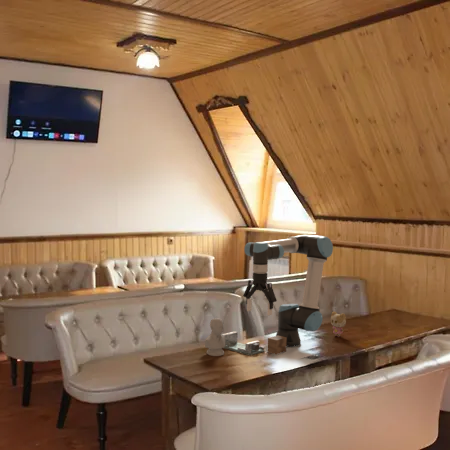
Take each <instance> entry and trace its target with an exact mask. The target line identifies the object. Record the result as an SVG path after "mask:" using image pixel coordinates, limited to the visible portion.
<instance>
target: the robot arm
mask: <svg viewBox="0 0 450 450" xmlns="http://www.w3.org/2000/svg"><path fill="white" fill-rule="evenodd" d="M333 246H334V245H333V242H332V241H331V239H330V237H328V236H324V235H313V234H301V235H300V234H299V235H293V236H289V237H288V238H285V239H278V240H275V239H274V240H267V241H256V242H253V241H251V242H247V243H246V244H245V246H244V248H243V249H244V254H245V255H246V256H248V257H252V271H253V272H252V279H249V280H248V281H247V286H246V288H245V291H244V292H243V296H242V297H244V298H246V301H245V302H246V303H245V304H246V311H247V312H251V311H252V310H253V309H252V307H253V306H252V303H253V302H252V301H253V300H252V299H253V298H252V296H253V295H254V294H255V293H256V291H259V292H262V293H263V295H264V296H265V298H266V299H267V301H268V302H267V316H272V315H273V309H274V303H275V302H277V301H278V299H277V298H276V294H275V291H274V288H273V283H272V282H267V281H268V273H267V272H268V269H269V267H268V265H269V263H268V261H271V260H279V259H282V258H283V257H284V254H285V253H290V254H300V255H301V254H302V255H306V259H307V260H308V263H307V270H306V276H305V283H304V284H305V285H304V289H303V297H302V302H301V303H300V304H298V303H287V304H286V303H283V304H281V305H279V306H278V311H277V313H278V321H277V322H278V324H277V331H276V334H275V336H283V337H287V341H286V348H287V347H288V348H289V347H291V348H292V347H298V346H300V345H301V342H302V340H301V338H300V337H301V336H300V333H299V330H304V331H306V332H316V331H318V330H319V328H320V327H321V326H322V323H323V318H324V317H323V313H322V312H320V307H319V304H318V303H319V299H320V298H319V296H320V292H321V291H320V290H321V284H322V277H323V271H324V264H325V263H326V262H327V261H328V258H330V257H331V256H332V254H333V251H334V247H333Z"/></svg>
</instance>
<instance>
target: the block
mask: <svg viewBox="0 0 450 450" xmlns="http://www.w3.org/2000/svg"><path fill="white" fill-rule="evenodd" d="M286 341H287V337H283V336H276V335H275V336H271V337H267V353H269V354H273V355H279V354H282V353H283V354H284V353H285V352H287V346H286Z"/></svg>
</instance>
